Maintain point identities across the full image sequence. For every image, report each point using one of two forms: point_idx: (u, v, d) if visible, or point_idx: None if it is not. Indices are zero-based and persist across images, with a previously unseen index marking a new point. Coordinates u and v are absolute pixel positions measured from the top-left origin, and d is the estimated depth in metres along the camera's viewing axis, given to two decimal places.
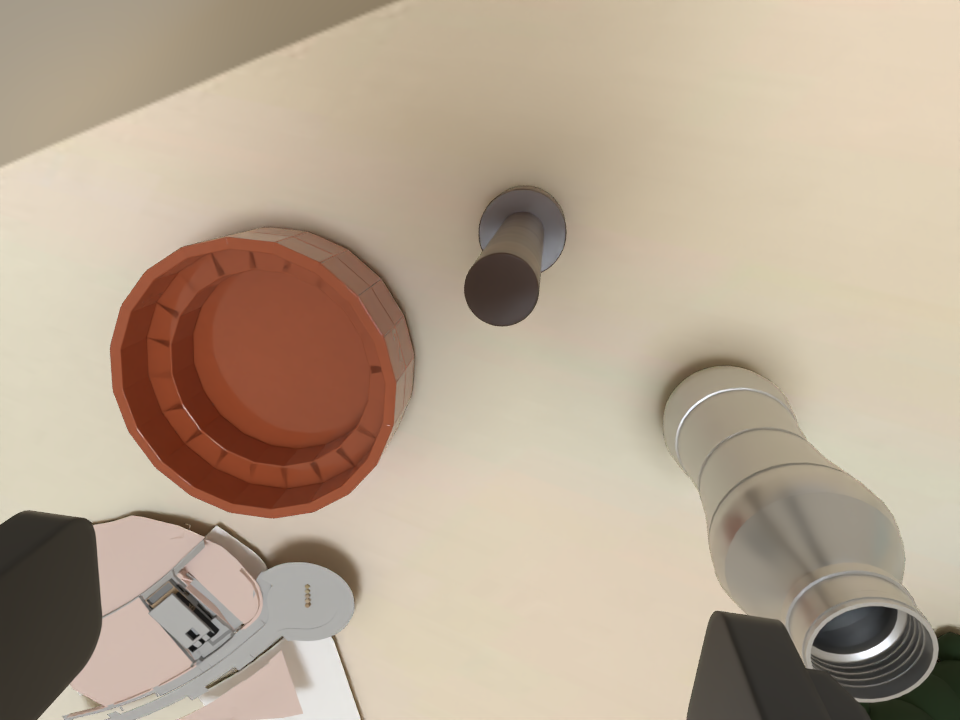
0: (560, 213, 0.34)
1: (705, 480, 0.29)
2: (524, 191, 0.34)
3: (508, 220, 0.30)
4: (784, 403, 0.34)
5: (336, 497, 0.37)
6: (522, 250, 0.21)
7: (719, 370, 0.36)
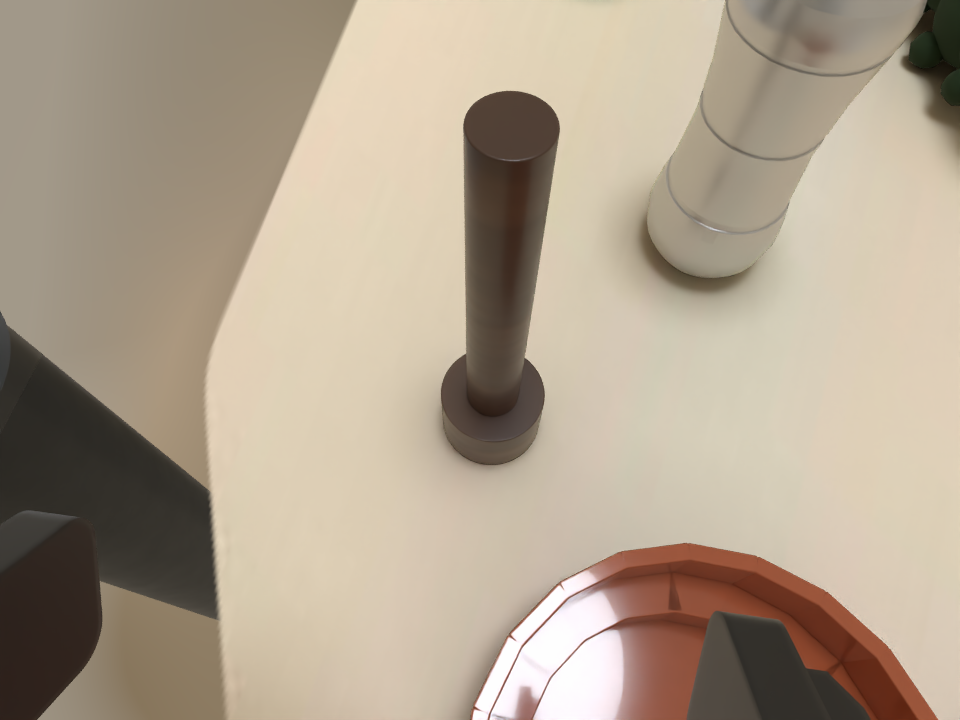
0: None
1: (768, 135, 0.26)
2: (444, 386, 0.29)
3: (468, 359, 0.25)
4: None
5: (900, 671, 0.22)
6: None
7: (651, 216, 0.34)
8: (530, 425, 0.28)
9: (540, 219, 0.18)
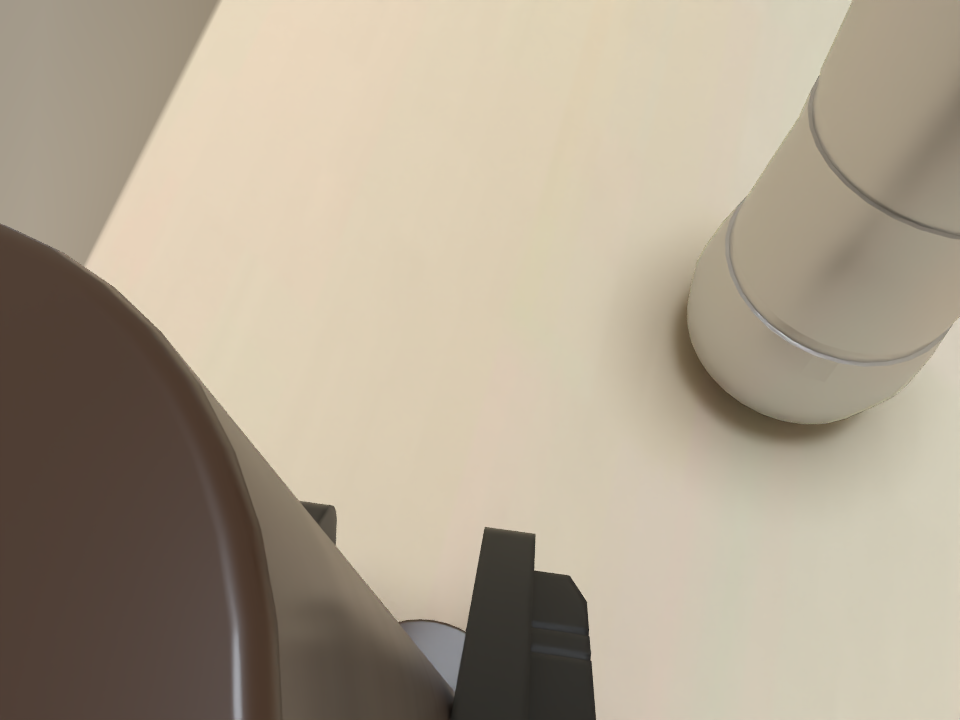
0: None
1: None
2: None
3: None
4: (744, 199, 0.19)
5: None
6: None
7: (697, 321, 0.19)
8: None
9: None
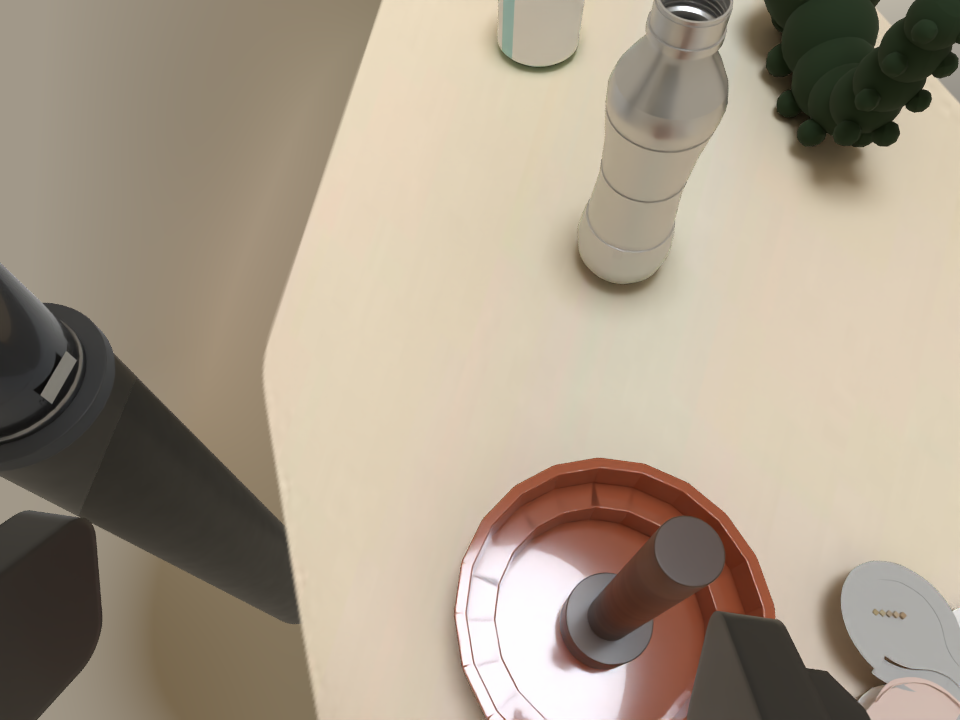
0: (588, 577, 0.35)
1: (642, 187, 0.39)
2: (568, 613, 0.34)
3: (601, 615, 0.31)
4: None
5: (733, 527, 0.35)
6: (646, 543, 0.23)
7: (579, 241, 0.47)
8: (644, 647, 0.34)
9: None
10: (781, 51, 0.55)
